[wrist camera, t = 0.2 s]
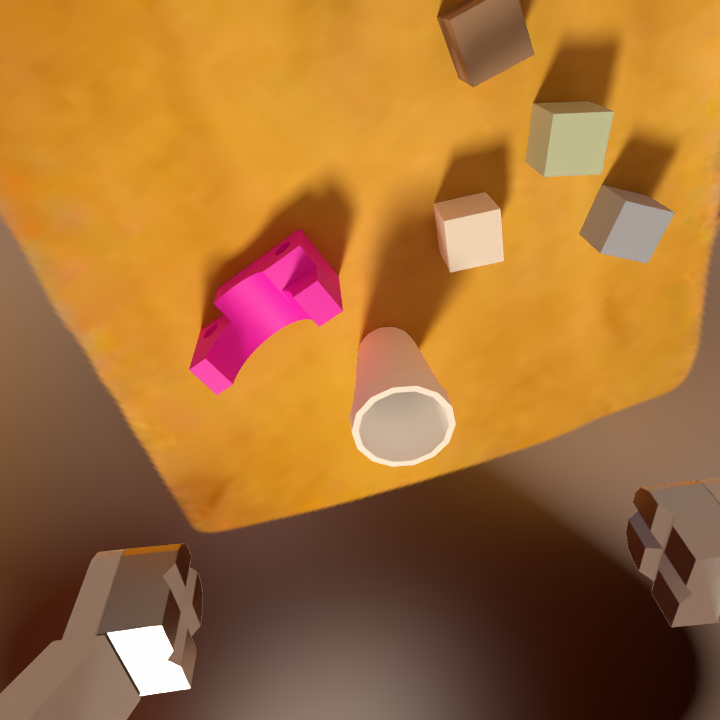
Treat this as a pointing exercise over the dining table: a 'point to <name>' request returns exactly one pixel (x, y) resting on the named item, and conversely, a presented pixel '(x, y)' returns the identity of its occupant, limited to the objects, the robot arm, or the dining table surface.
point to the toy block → (265, 307)
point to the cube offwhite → (469, 231)
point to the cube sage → (568, 138)
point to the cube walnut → (485, 38)
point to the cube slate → (625, 224)
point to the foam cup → (398, 401)
